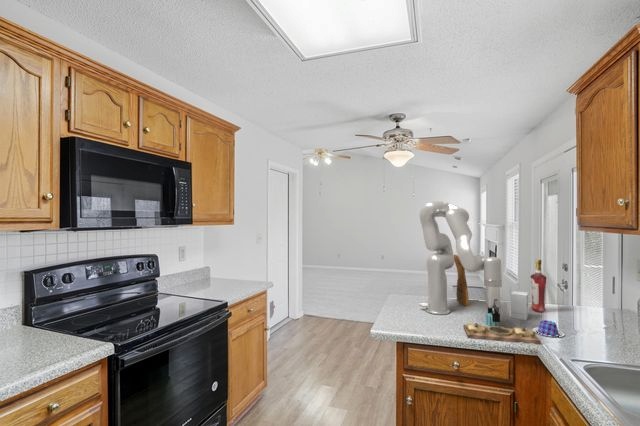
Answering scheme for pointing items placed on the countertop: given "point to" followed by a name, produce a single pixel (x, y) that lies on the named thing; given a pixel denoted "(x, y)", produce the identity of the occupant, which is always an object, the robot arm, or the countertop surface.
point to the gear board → (501, 333)
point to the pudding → (548, 328)
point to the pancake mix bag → (461, 283)
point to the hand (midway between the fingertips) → (493, 318)
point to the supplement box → (519, 305)
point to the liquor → (538, 289)
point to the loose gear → (490, 320)
